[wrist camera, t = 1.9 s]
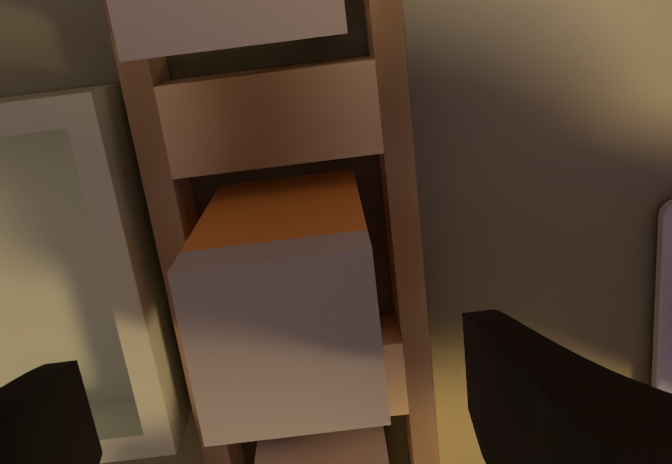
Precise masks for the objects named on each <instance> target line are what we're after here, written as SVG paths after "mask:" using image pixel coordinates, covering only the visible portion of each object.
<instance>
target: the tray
mask: <svg viewBox="0 0 672 464" xmlns="http://www.w3.org/2000/svg"><path fill="white" fill-rule="evenodd" d="M74 360H77V362H78V366H79V369H80V373H81V376H82V380H83V384H84V387H85V391H86V394H87V398H88V401H89V405H90V409H91V412H92V416H93V419H94V423H95V427H96V430H97V434H98V437H99V441H100V444H101V448H102V452H103V453H102V457H101V461H100V464H101V463H109V462H118V461H126V460H135V459H143V458H152V457H160V456H169V455H176V454H177V451H178V448H179V445H180V442H181V439H182V436H183V433H184V430H185V427H186V424H187V421H188V418H189V414H190V411H191V408H192V406H191V401H190V397H189V392H188V388H187V383H186V379H185V374H184V369H183V365H182V360H181V356H180V351H179V347H178V342H177V338H176V333H175V329H174V324H173V320H172V315H171V311H170V306H169V301H168V297H167V292H166V288H165V283H164V279H163V274H162V270H161V265H160V261H159V256H158V252H157V247H156V243H155V238H154V233H153V229H152V224H151V220H150V215H149V211H148V206H147V202H146V197H145V193H144V188H143V184H142V179H141V174H140V170H139V165H138V161H137V156H136V152H135V147H134V143H133V138H132V134H131V129H130V125H129V120H128V116H127V111H126V106H125V102H124V97H123V93H122V88H121V84H120V83H114V84H106V85H98V86H90V87H82V88H74V89H66V90H58V91H50V92H42V93H34V94H26V95H18V96H10V97H2V98H0V388H1V387H2V386H4V385H6V384H7V383H9V382H11V381H12V380H14V379H16V378H18V377H19V376H21V375H23V374H25V373H27V372H29V371H31V370H33V369H35V368H37V367H39V366H41V365H44V364H49V363H58V362H66V361H74Z"/></svg>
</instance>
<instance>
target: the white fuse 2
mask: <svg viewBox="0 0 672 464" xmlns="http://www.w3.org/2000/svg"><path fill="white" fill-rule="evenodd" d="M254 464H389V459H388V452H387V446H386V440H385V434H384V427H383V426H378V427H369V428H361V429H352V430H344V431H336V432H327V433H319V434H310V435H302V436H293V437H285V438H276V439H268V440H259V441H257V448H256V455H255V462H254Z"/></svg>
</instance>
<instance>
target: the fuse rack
mask: <svg viewBox="0 0 672 464" xmlns="http://www.w3.org/2000/svg"><path fill="white" fill-rule="evenodd" d="M363 1H364V11H365V21H366V31H367V41H368V52H369V55H367V56H359V57H351V58H343V59H335V60H327V61H319V62H311V63H303V64H295V65H287V66H279V67H271V68H263V69H255V70H247V71H239V72H231V73H223V74H215V75H207V76H200V77H192V78H184V79H176V80H171V78H170V73H169V68H168V63H167V58H166V56H164V57H156V58H148V59H140V60H132V61H124V62H119V57H118V52H117V48H116V43H115V39H114V34H113V30H112V25H111V20H110V16H109V11H108V7H107V2H106V0H102V2H103V7H104V11H105V16H106V20H107V25H108V29H109V34H110V38H111V43H112V48H113V52H114V57H115V61H116V66H117V70H118V75H119V79H120V84H121V88H122V93H123V97H124V102H125V106H126V111H127V116H128V120H129V125H130V129H131V134H132V138H133V143H134V147H135V152H136V156H137V161H138V165H139V170H140V174H141V179H142V184H143V188H144V193H145V197H146V202H147V206H148V211H149V215H150V220H151V224H152V229H153V233H154V238H155V243H156V247H157V252H158V256H159V261H160V265H161V270H162V274H163V279H164V283H165V288H166V292H167V297H168V301H169V306H170V311H171V315H172V320H173V324H174V329H175V333H176V338H177V342H178V347H179V351H180V356H181V360H182V365H183V369H184V374H185V379H186V383H187V388H188V392H189V397H190V401H191V406H192V410H193V415H194V419H195V424H196V428H197V433H198V438H199V442H200V447H201V451H202V456H203V460H204V464H246V461H245V456H244V451H243V445H242V443H234V444H226V445H217V446H209V447H204V443H203V438H202V434H201V429H200V424H199V420H198V415H197V411H196V406H195V401H194V397H193V392H192V387H191V383H190V378H189V374H188V369H187V364H186V360H185V355H184V351H183V346H182V341H181V337H180V332H179V328H178V323H177V318H176V314H175V309H174V304H173V300H172V295H171V291H170V286H169V281H168V277H167V272H168V271H169V269H170V267H171V266H172V264H173V262H174V261H175V259H176V257H177V256H178V254H179V252H180V251H181V249H182V247H183V246H184V244H185V242H186V241H187V239H188V237H189V236H190V234H191V232H192V231H193V229H194V227H195V226H196V224H197V222H198V216H197V211H196V206H195V200H194V195H193V190H192V185H191V180H190V177H196V176H204V175H213V174H221V173H229V172H237V171H245V170H253V169H261V168H269V167H277V166H286V165H294V164H302V163H310V162H318V161H326V160H334V159H342V158H350V157H359V156H367V155H375V154H379V162H380V172H381V182H382V192H383V202H384V212H385V222H386V232H387V242H388V252H389V262H390V272H391V282H392V292H393V302H394V312H395V313H393V314H385V315H379V317H380V326H381V336H382V345H383V354H384V363H385V373H386V382H387V391H388V401H389V410H390V416H397V415H405V422H406V432H407V442H408V452H409V462H410V464H440V457H439V444H438V432H437V420H436V408H435V396H434V383H433V371H432V359H431V347H430V335H429V322H428V310H427V298H426V286H425V274H424V261H423V249H422V237H421V225H420V213H419V200H418V188H417V176H416V164H415V152H414V139H413V127H412V115H411V103H410V90H409V78H408V66H407V54H406V42H405V29H404V17H403V5H402V0H363Z"/></svg>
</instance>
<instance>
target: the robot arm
mask: <svg viewBox="0 0 672 464" xmlns="http://www.w3.org/2000/svg"><path fill="white" fill-rule="evenodd" d="M462 316H463V332H464V348H465V364H466V380H467V395H468V409H469V413H470V416H471V420H472V423H473V426H474V430H475V433H476V437H477V440H478V443H479V446H480V450H481V453H482V456H483V458H484V460H485V462H486V464H672V199H671V200H668V201H667V202H666V203H664V204H663V206H662V207H661V209H660V211H659V215H658V234H657V259H656V284H655V308H654V333H653V358H652V383H651V386H649V385H647V384H644V383H641V382H638V381H636V380H633V379H630V378H628V377H625V376H623V375H621V374H618V373H616V372H614V371H611V370H609V369H607V368H605V367H603V366H601V365H598V364H596V363H594V362H592V361H590V360H588V359H586V358H584V357H582V356H580V355H578V354H576V353H574V352H572V351H570V350H568V349H566V348H564V347H562V346H560V345H559V344H557V343H555V342H553V341H551V340H549V339H548V338H546V337H544V336H542V335H541V334H539V333H537V332H535V331H534V330H532V329H530V328H529V327H527V326H525V325H523V324H522V323H520V322H518V321H517V320H515V319H513V318H511V317H510V316H508V315H506V314H504V313H502V312H500V311H498V310H496V309H493V310H485V311H477V312H469V313H462ZM102 453H103V452H102V448H101V444H100V441H99V437H98V434H97V430H96V427H95V423H94V419H93V416H92V412H91V409H90V405H89V401H88V398H87V394H86V391H85V387H84V384H83V380H82V376H81V373H80V369H79V366H78V362H77V360H74V361H66V362H58V363H49V364H44V365H41V366H39V367H37V368H35V369H33V370H31V371H29V372H27V373H25V374H23V375H21V376H19V377H18V378H16V379H14V380H12V381H11V382H9V383H7V384H6V385H4V386H2V387H1V388H0V464H100V461H101V457H102Z"/></svg>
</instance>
